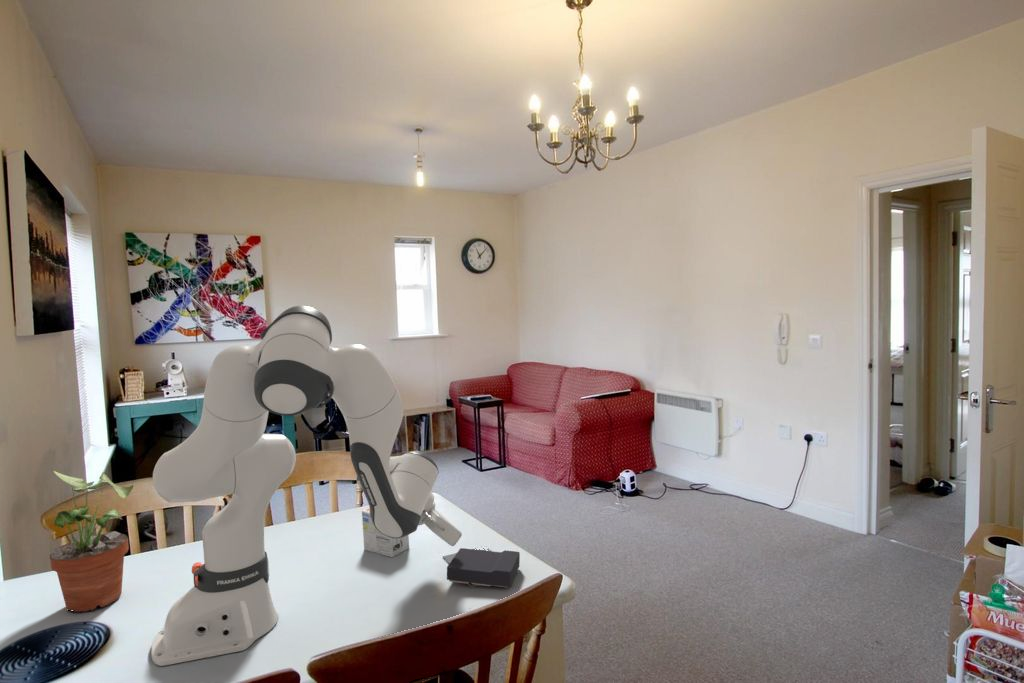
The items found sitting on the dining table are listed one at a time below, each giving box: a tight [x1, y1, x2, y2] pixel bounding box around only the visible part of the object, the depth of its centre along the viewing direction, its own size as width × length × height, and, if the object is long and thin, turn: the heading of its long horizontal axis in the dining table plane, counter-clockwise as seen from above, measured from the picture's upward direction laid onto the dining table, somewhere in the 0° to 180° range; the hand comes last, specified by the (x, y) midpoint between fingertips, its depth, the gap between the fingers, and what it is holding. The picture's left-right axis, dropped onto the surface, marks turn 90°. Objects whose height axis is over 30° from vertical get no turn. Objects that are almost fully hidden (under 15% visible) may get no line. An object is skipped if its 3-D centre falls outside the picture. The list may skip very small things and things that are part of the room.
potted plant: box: [49, 468, 134, 612], centre depth 128 cm, size 16×15×35 cm
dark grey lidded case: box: [446, 547, 521, 588], centre depth 133 cm, size 11×4×15 cm
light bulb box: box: [361, 507, 410, 558], centre depth 151 cm, size 11×7×11 cm, turn 58°
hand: (456, 537), depth 137 cm, fingers closed
